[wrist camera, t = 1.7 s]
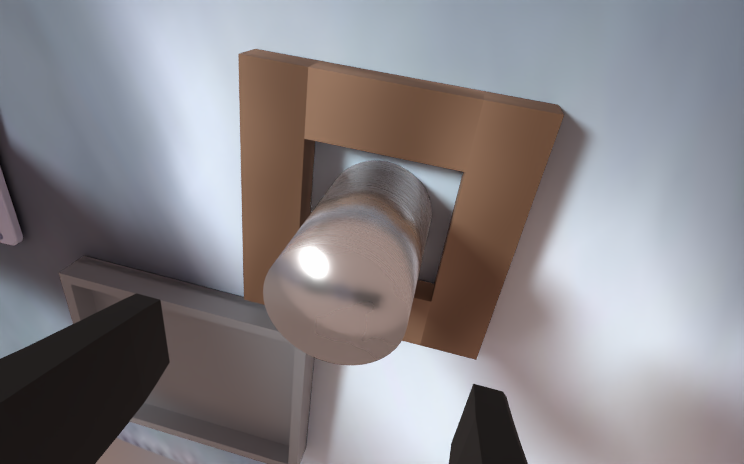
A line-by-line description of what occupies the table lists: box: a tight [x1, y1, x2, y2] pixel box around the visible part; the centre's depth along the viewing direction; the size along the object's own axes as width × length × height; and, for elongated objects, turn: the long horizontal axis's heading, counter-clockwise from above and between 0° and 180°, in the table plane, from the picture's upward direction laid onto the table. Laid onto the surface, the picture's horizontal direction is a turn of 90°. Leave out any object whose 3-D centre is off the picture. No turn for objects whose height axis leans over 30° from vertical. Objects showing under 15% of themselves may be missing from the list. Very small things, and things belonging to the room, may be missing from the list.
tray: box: [59, 256, 314, 464], centre depth 23 cm, size 12×10×2 cm
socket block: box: [239, 49, 564, 360], centre depth 16 cm, size 10×10×1 cm
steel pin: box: [263, 161, 432, 365], centre depth 14 cm, size 4×4×6 cm
